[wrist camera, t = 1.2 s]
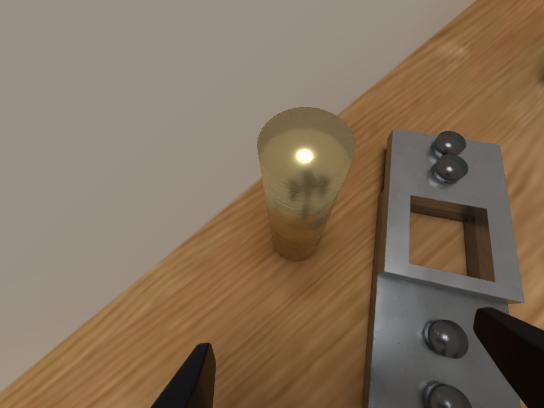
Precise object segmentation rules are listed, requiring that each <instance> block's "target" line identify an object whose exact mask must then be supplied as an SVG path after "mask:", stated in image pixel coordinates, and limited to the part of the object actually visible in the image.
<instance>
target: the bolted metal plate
mask: <svg viewBox="0 0 544 408" xmlns="http://www.w3.org/2000/svg"><path fill="white" fill-rule="evenodd" d="M410 212H415V213H420V214H425V215H430V216H436V217H441V218H446V219H452V220H457V221H462V222H464V234H465V248H466V261H467V275H468V276H464V275H459V274H455V273H450V272H445V271H441V270H436V269H432V268H427V267H422V266H418V265H413V264H409V237H410ZM515 303H524V296H523V290H522V284H521V277H520V271H519V264H518V258H517V252H516V245H515V239H514V232H513V226H512V220H511V213H510V207H509V200H508V194H507V188H506V181H505V175H504V168H503V162H502V156H501V149H500V145H498V144H491V143H484V142H477V141H470V140H465V139H464V138H463V137H462V136H461V135H460V134H458V133H456V132H452V131H445V132H442V133H440V134H439V135H438V136H436V135H429V134H422V133H415V132H408V131H401V130H394V129H393V130H392V132H391V134H390V135H389V137H388V139H387V151H386V165H385V179H384V190H383V191H382V193H381V194H380V195H379V197H378V209H377V222H376V235H375V248H374V260H373V273H372V286H371V299H370V312H369V324H368V337H367V350H366V363H365V375H364V388H363V401H362V408H521V404H520V397H519V396H518V395H517V394H516V392H515V391H514V390H513V388H512V387H511V386H510V384H509V383H508V382H507V380H506V379H505V378H504V376H503V375H502V373H501V372H500V370H499V369H498V367H497V366H496V364H495V363H494V361H493V360H492V359H491V357H490V356H489V354H488V353H487V351H486V350H485V348H484V347H483V345H482V344H481V342H480V341H479V339H478V338H477V336H476V335H475V333H474V330H473V322H474V318H475V313H476V310H477V309H478V308H483V307H493V308H495V309H497V310H499V311H502V312H504V313H506V314H508V315H509V312H508V304H515Z"/></svg>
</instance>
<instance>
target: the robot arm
mask: <svg viewBox="0 0 544 408" xmlns="http://www.w3.org/2000/svg"><path fill="white" fill-rule="evenodd" d="M473 330H474V333H475V335H476V336H477V338H478V339H479V341H480V342H481V344H482V345H483V347H484V348H485V350H486V351H487V353H488V354H489V356H490V357H491V359H492V360H493V361H494V363H495V364H496V366H497V367H498V369H499V370H500V372H501V373H502V375H503V376H504V378H505V379H506V380H507V382H508V383H509V384H510V386H511V387H512V388H513V390H514V391H515V392H516V394H517V395H518V396H519V397H520V399H521V400H522V401H523V402H524V404H525V405H526V406H527V407H528V408H544V330H541V329H539V328H537V327H535V326H533V325H530V324H528V323H526V322H524V321H521V320H519V319H517V318H515V317H513V316H510V315H508V314H506V313H504V312H502V311H499V310H497V309H495V308H493V307H483V308H478V309H477V310H476V313H475V318H474V322H473ZM215 371H216V361H215V356H214V353H213V349H212V346H211V344H210V343H201V344H198V345H197V346H196V347H195V348H194V350H193V351H192V352H191V354H190V355H189V357H188V358H187V359H186V361H185V362H184V363H183V365H182V366H181V367H180V369H179V370H178V371H177V373H176V374H175V375H174V377H173V378H172V379H171V381H170V382H169V383H168V385H167V386H166V387H165V389H164V390H163V392H162V393H161V394H160V396H159V397H158V398H157V400H156V401H155V402H154V404H153V405H152V406H151V408H213V396H214V383H215Z"/></svg>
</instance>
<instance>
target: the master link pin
mask: <svg viewBox="0 0 544 408" xmlns="http://www.w3.org/2000/svg"><path fill="white" fill-rule="evenodd" d="M257 146H258V147H257V148H258V155H259V161H260V167H261V173H262V179H263V185H264V191H265V197H266V203H267V209H268V215H269V221H270V227H271V233H272V238H273V244H274V247H275V249H276V251H277V252H278V253H279V254H280V255H281V256H282V257H283V258H285V259H287V260H290V261H301V260H304V259H307V258H308V257H310V256H311V255H312V254H313V253H314V251H315V250H316V247H317V245H318V243H319V240H320V238H321V235H322V233H323V230H324V228H325V226H326V223H327V221H328V218H329V216H330V213H331V211H332V209H333V206H334V204H335V201H336V199H337V196H338V194H339V192H340V189H341V187H342V184H343V182H344V179H345V177H346V175H347V172H348V170H349V167H350V165H351V163H352V160H353V157H354V153H355V141H354V137H353V134H352V132H351V130H350V129H349V127H348V126H347V125H346V124H345V123H344V121H342V120H341V119H340V118H339V117H337V116H336V115H334V114H332V113H330V112H327V111H325V110H321V109H318V108H310V107H300V108H294V109H290V110H286V111H283V112H282V113H279V114H277V115H276V116H274V117H273V118H272V119H270V120H269V121H268V122H267V123H266V124H265V126H264V127H263V129H262V131H261V132H260V135H259V138H258V144H257Z"/></svg>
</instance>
